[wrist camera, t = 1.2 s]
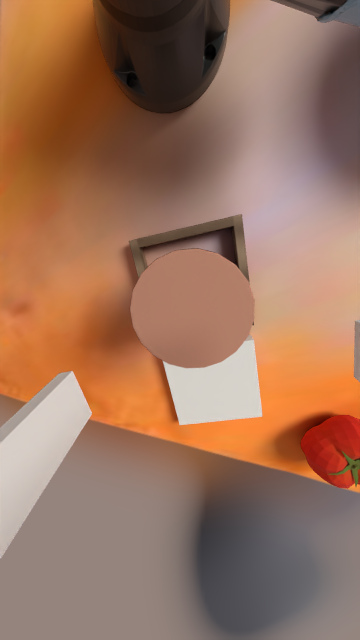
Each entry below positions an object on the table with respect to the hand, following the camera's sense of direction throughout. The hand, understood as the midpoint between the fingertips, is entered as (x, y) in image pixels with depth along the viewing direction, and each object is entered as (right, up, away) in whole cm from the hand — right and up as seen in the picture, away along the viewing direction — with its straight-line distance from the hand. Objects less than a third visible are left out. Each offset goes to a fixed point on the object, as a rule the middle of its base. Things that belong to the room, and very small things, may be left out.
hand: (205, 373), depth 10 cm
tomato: (+29, -19, +32) cm, 47 cm away
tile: (+5, -9, +31) cm, 32 cm away
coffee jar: (+1, +9, +25) cm, 27 cm away
